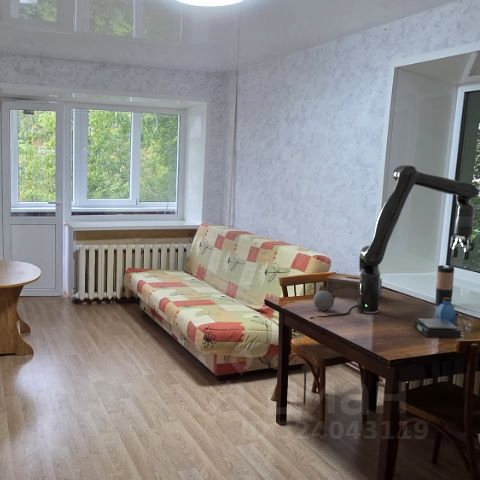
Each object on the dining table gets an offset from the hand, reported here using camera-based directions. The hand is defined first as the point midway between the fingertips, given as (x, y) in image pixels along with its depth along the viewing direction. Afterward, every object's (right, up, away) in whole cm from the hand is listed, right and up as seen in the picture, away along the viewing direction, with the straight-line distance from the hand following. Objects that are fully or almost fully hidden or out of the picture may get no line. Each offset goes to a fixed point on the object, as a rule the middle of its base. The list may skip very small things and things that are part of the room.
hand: (460, 258), depth 255 cm
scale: (-24, -32, -23) cm, 46 cm away
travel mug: (+2, -25, +19) cm, 31 cm away
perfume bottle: (-13, -30, -11) cm, 35 cm away
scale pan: (-24, -28, -23) cm, 44 cm away
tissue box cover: (-38, -22, +38) cm, 58 cm away
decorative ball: (-63, -27, +12) cm, 70 cm away
